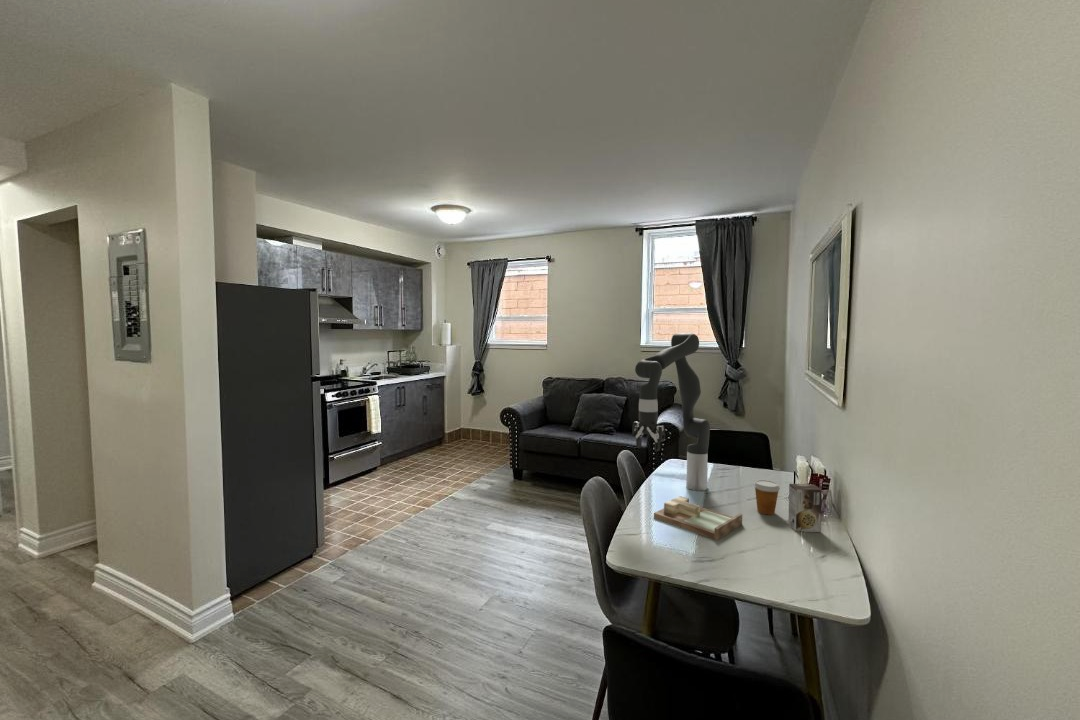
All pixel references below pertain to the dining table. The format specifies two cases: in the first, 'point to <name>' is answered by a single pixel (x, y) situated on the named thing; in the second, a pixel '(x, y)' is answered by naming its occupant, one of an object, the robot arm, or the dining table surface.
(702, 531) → the board
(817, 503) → the cracker box
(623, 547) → the dining table surface
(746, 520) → the dining table surface
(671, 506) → the t block
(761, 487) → the disposable coffee cup
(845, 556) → the dining table surface
